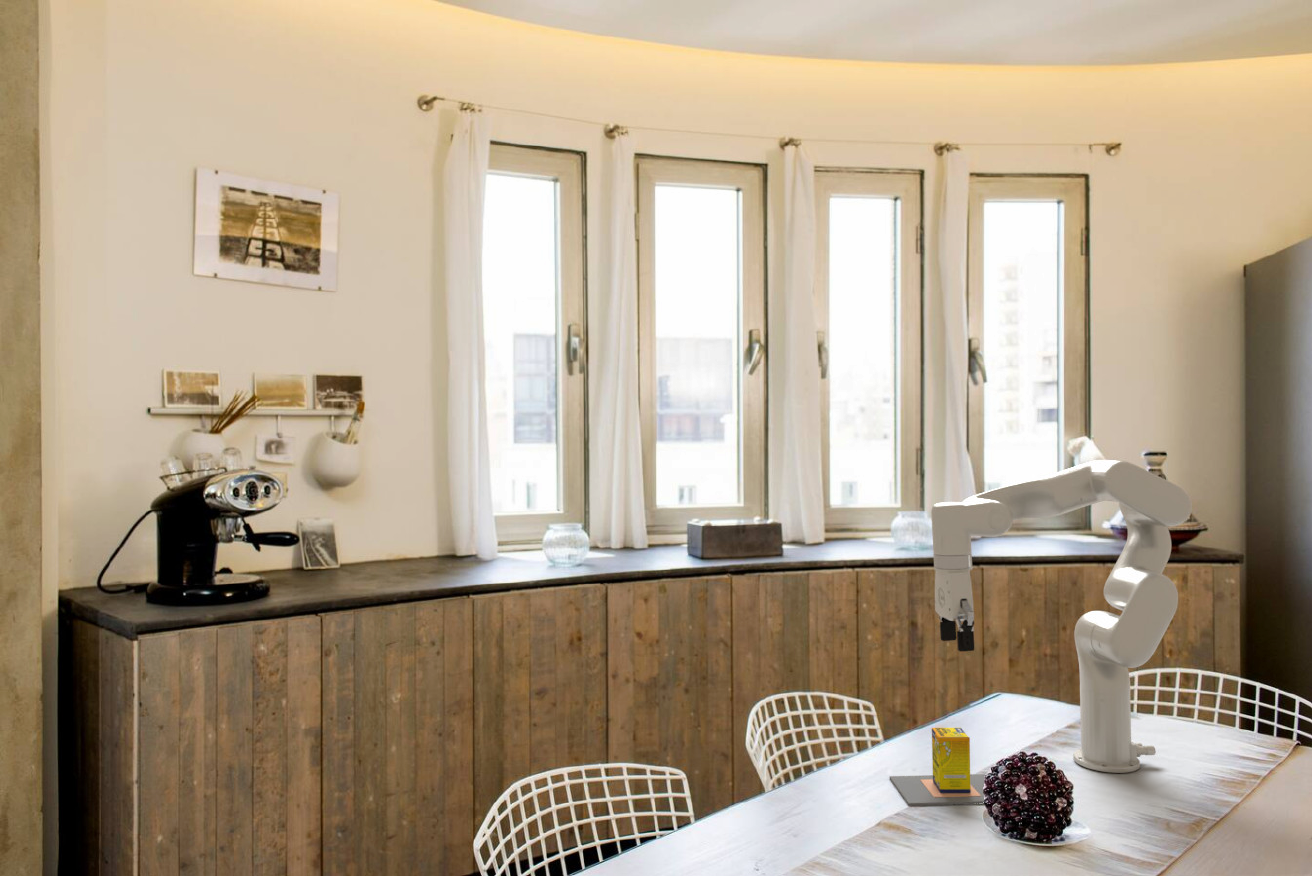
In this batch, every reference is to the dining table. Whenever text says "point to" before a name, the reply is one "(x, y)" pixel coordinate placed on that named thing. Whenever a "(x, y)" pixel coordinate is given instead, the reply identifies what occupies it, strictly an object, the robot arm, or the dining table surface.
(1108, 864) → the dining table surface
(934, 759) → the supplement box
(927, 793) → the mat
